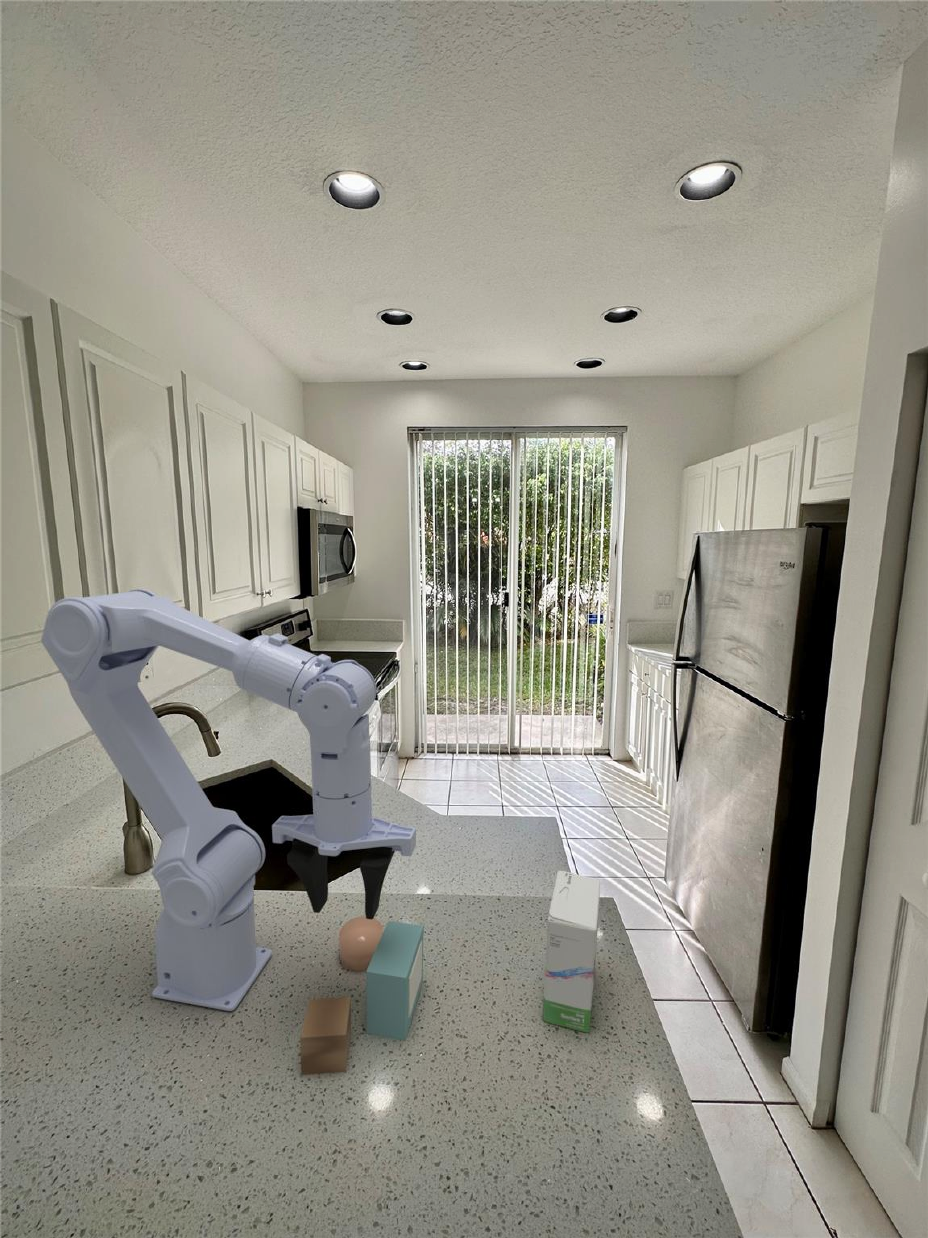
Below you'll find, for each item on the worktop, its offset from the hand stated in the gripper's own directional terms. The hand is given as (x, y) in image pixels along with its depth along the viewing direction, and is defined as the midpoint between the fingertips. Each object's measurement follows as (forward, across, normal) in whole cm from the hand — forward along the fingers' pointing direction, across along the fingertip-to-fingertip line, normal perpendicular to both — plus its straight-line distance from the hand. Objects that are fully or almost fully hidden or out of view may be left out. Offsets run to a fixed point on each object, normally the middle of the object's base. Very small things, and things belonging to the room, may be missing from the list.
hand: (346, 909), depth 54 cm
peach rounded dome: (+10, -1, +6) cm, 12 cm away
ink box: (+11, +23, +5) cm, 26 cm away
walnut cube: (+10, 0, -6) cm, 12 cm away
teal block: (+11, +5, 0) cm, 12 cm away
